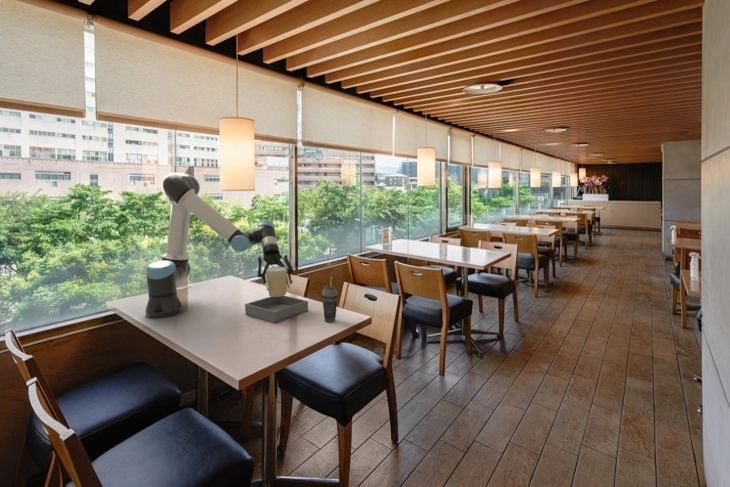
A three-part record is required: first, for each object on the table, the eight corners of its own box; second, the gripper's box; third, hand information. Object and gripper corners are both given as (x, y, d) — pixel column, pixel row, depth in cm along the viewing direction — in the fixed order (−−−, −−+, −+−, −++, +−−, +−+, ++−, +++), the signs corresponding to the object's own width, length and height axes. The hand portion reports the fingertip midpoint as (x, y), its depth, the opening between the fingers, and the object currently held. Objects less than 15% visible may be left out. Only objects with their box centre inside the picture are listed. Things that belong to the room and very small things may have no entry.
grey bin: (275, 323, 160) (274, 312, 159) (245, 314, 171) (244, 304, 171) (308, 311, 176) (307, 301, 175) (278, 303, 188) (278, 294, 187)
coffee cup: (290, 292, 177) (289, 267, 175) (284, 297, 168) (283, 271, 166) (271, 291, 178) (270, 266, 176) (264, 297, 168) (262, 270, 167)
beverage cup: (329, 317, 168) (329, 273, 165) (341, 320, 164) (341, 275, 161) (318, 321, 163) (317, 276, 160) (330, 325, 158) (329, 278, 155)
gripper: (291, 250, 188) (300, 289, 176) (246, 254, 180) (253, 294, 167) (293, 241, 183) (303, 280, 171) (247, 244, 174) (254, 286, 162)
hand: (278, 287), depth 169 cm, fingers closed on coffee cup, 9 cm apart
